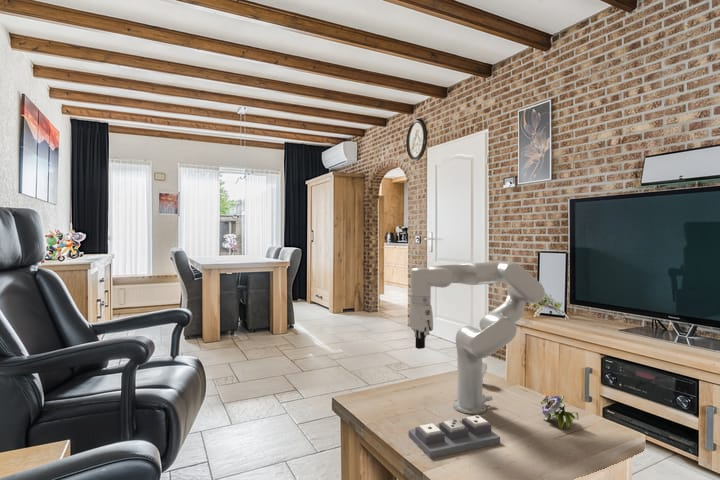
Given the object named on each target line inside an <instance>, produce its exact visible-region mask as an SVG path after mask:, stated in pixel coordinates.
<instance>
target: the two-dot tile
mask: <svg viewBox="0 0 720 480" xmlns="http://www.w3.org/2000/svg"><path fill="white" fill-rule="evenodd" d="M465 418H466V421H468V422H469V423H470V424H472V425H473V426H474V427H476V426H482V425H487V424H488V423H489V421H488V420H486V419H485V418H483V417H481V415H479V414H475V415H472V416H466V417H465Z"/></svg>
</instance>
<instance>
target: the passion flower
mask: <svg viewBox="0 0 720 480" xmlns="http://www.w3.org/2000/svg"><path fill="white" fill-rule="evenodd" d="M564 397H565V395H564V394H561V396H560V395H555V396H551V397H550V396H549V395H546V396H544V398H543V399H541V403H540V404H541V405H542V408H541V409H542V414H543V415H544V418H543V420H544V421H549V420H550V419H551V417H555V418H556V420H557V423H558V424H557V425H558V428H559V429H560V430H561V431H563V430H564V425H565V426H566V429H569V428H570V427H571V426H572V425H573V422H574V421H573V419H574V420H579V412H570V411H565V410H566V409H565V406H566V404H565V402H563V401H564V399H565V398H564ZM575 415H576V416H575ZM564 418H565V419H564Z"/></svg>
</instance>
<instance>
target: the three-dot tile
mask: <svg viewBox="0 0 720 480" xmlns="http://www.w3.org/2000/svg"><path fill="white" fill-rule="evenodd" d="M459 421H460V420H458V419H457V418H455V419H449V420H445V421H442V422H443V425H444V426H445V427H447V428H448V429H449V430H450V431H456V430H461V429H465V426H464V425H463V424H462V423H460V422H459Z"/></svg>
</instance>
